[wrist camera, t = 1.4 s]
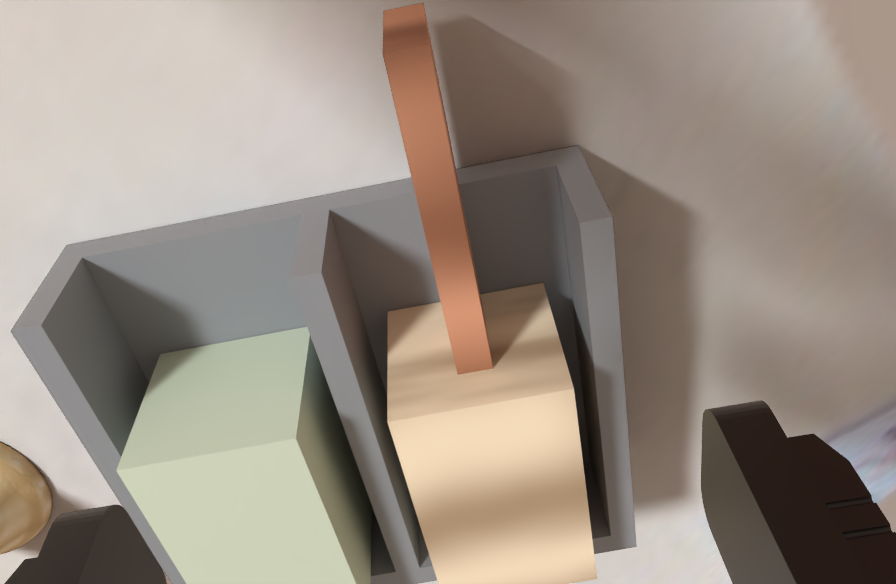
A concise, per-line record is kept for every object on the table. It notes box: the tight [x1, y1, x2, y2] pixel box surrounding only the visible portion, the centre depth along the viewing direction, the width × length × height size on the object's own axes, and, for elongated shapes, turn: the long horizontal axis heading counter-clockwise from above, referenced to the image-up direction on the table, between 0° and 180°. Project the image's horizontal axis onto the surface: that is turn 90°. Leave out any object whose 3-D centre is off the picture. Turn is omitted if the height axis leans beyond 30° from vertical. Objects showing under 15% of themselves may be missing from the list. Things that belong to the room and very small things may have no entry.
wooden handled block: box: [383, 3, 597, 584], centre depth 27 cm, size 21×6×6 cm, turn 10°
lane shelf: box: [11, 145, 636, 584], centre depth 31 cm, size 16×19×5 cm
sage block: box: [116, 327, 372, 584], centre depth 31 cm, size 10×6×6 cm, turn 10°
